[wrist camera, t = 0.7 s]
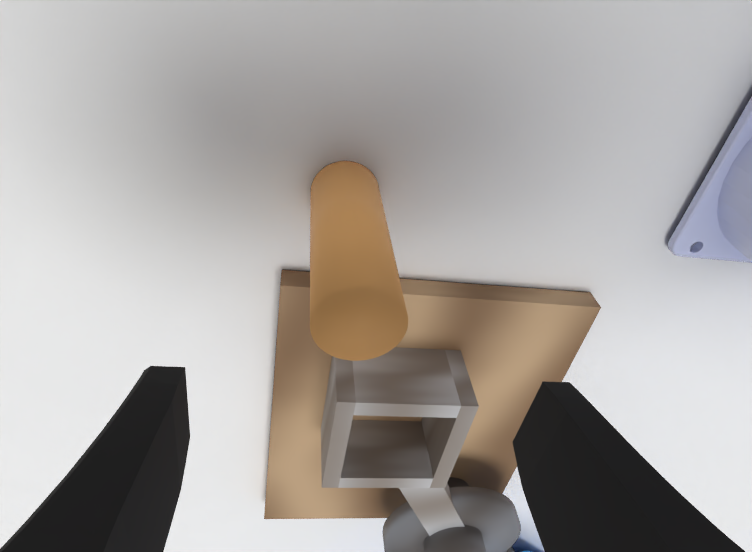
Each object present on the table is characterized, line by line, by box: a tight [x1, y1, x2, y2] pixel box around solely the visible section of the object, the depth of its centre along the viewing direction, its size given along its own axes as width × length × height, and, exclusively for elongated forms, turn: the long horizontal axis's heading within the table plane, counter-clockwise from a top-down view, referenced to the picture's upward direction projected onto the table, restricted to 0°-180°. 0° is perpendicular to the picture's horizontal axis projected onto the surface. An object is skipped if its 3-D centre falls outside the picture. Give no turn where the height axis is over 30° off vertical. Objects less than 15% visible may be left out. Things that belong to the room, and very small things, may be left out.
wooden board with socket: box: [264, 270, 601, 552], centre depth 23 cm, size 13×17×6 cm
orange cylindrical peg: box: [310, 161, 408, 361], centre depth 15 cm, size 2×2×7 cm
